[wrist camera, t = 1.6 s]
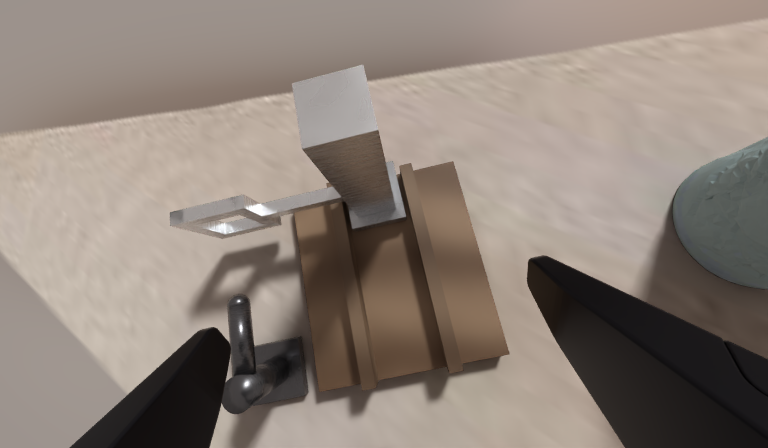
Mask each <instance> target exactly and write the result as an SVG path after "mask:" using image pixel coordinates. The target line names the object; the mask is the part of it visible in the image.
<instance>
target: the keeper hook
mask: <svg viewBox="0 0 768 448" xmlns="http://www.w3.org/2000/svg"><path fill="white" fill-rule="evenodd" d="M227 310H228V323H229V337H230V346H231V363H232V378H230V379H229V380H228V381H227V382H226V383H225V387H224V393H223V398H222V404H223V406H224V408H225V409H226V410H227V411H228V412H230V413H232V414H240V413H242V412H244V411H246V410H247V409H248V408H250V407H251V406H252V405H253V406H255V405H260V404H265V403H270V402H275V401H280V400H285V399H290V398H295V397H300V396H305V395H306V394H307V393H308V385H307V378H306V370H305V362H304V355H303V347H302V340H301V336H300V337H295V338H290V339H285V340H281V341H276V342H271V343H267V344H262V345H257V346H254V339H253V328H252V318H251V307H250V300H249V298H248V297H247V296H246V295H243V294H237V295H234V296H233V297H231V298H230V300H229V301H228V304H227Z"/></svg>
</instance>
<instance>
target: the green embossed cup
mask: <svg viewBox="0 0 768 448" xmlns="http://www.w3.org/2000/svg"><path fill="white" fill-rule="evenodd" d="M673 221H674V225H675V229H676V232H677V235H678V237H679V239H680V240H681V242H682V244H683V246H684V247H685V248H686V250H687V251H688V252H689V254H690V255H691V256H692V257H693V258H694V259H695V260H696V261H697V262H698V263H699V264H700V265H702V266H703V267H704V268H705V269H707V270H708V271H710V272H711V273H713V274H715V275H717V276H718V277H720V278H722V279H725V280H727V281H730V282H732V283H735V284H739V285H743V286H748V287H753V288H759V289H768V137H766V138H764V139H762V140H760V141H758V142H756V143H754V144H752V145H750V146H748V147H746V148H744V149H742V150H739V151H737V152H735V153H733V154H731V155H728V156H725V157H722V158H719V159H716V160H714V161H712V162H710V163H708V164H706V165H704V166H702V167H701V168H699V169H698V170H696V171H695V172H693V173H692V174H691V175H690V176H689V177H688V178H687V179H685V180H684V182H683V183H682V184H681V185H680V187H679V189H678V190H677V193H676V195H675V198H674V203H673Z"/></svg>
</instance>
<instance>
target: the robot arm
mask: <svg viewBox="0 0 768 448" xmlns="http://www.w3.org/2000/svg"><path fill="white" fill-rule="evenodd" d="M527 283H528V287H529V289H530V291H531V293H532V295H533V297H534V299H535V301H536V303H537V305H538V307H539V309H540V311H541V313H542V315H543V317H544V319H545V321H546V323H547V325H548V327H549V329H550V331H551V333H552V334H553V336H554V338H555V340H556V342H557V343H558V345H559V346H560V348H561V350H562V351H563V353H564V354H565V356H566V357H567V359H568V360H569V362H570V363H571V365H572V367H573V368H574V370H575V371H576V373H577V374H578V376H579V377H580V379H581V380H582V382H583V384H584V385H585V387H586V388H587V390H588V391H589V393H590V394H591V396H592V397H593V399H594V400H595V402H596V404H597V405H598V407H599V408H600V410H601V411H602V413H603V414H604V416H605V417H606V419H607V421H608V422H609V424H610V425H611V427H612V428H613V430H614V431H615V433H616V434H617V436H618V437H619V439H620V441H621V442H622V444H623V445H624V447H625V448H768V359H766V358H764V357H762V356H759V355H757V354H755V353H753V352H751V351H749V350H746V349H744V348H742V347H740V346H738V345H736V344H734V343H732V342H729V341H723V339H722V338H721V337H719V336H716V335H714V334H712V333H710V332H708V331H706V330H704V329H702V328H699V327H697V326H695V325H693V324H691V323H689V322H687V321H684V320H682V319H680V318H678V317H676V316H674V315H672V314H670V313H667V312H665V311H663V310H661V309H659V308H657V307H655V306H653V305H650V304H648V303H646V302H644V301H642V300H640V299H638V298H636V297H633V296H631V295H629V294H627V293H625V292H623V291H621V290H619V289H616V288H614V287H612V286H610V285H608V284H606V283H604V282H602V281H599V280H597V279H595V278H593V277H591V276H589V275H587V274H584V273H582V272H580V271H578V270H576V269H574V268H572V267H570V266H567V265H565V264H563V263H561V262H559V261H557V260H555V259H553V258H550V257H548V256H544V255H543V256H538V257H534V258H531V259H529V261H528V273H527ZM230 355H231V346H230V343H229V342H228V341H227V339H226V338H225V337H224V336H223V335H222V334H221V332H220V331H219V330H218V329H217V328H215V327H211V328H206V329H202V330H199V331H198V332H197V333H195V334H194V335H193V336H192V337H191V338H190V339H189V340H188V341H187V342H186V343H184V344H183V345H182V346H181V347H180V348H179V349H178V350H177V351H176V352H174V353H173V354H172V355H171V356H170V357H169V358H168V359H167V360H166V361H165V362H163V363H162V364H161V365H160V366H159V367H158V368H157V369H156V370H155V371H154V372H152V373H151V374H150V375H149V376H148V377H147V378H146V379H145V380H144V381H143V382H141V383H140V384H139V385H138V386H137V387H136V388H135V389H134V390H133V391H131V392H130V393H129V394H128V395H127V396H126V397H125V398H124V399H123V400H122V401H121V402H119V403H118V404H117V405H116V406H115V407H114V408H113V409H112V410H111V411H109V412H108V413H107V414H106V415H105V416H104V417H103V418H102V419H101V420H100V421H98V422H97V423H96V424H95V425H94V426H93V427H92V428H91V429H90V430H88V432H86V433H85V434H84V435H83V436H82V437H81V438H80V439H79V440H77V441H76V442H75V443H74V444H73V445H72V446H71V447H70V448H209V447H210V444H211V440H212V437H213V433H214V429H215V426H216V422H217V419H218V415H219V411H220V407H221V403H222V398H223V393H224V387H225V382H226V376H227V371H228V366H229V360H230Z"/></svg>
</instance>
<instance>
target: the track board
mask: <svg viewBox="0 0 768 448" xmlns="http://www.w3.org/2000/svg"><path fill="white" fill-rule="evenodd" d="M396 176H397V180H398V185H399V189H400V193H401V197H402V202H403V206H404V210H405V214H406V220H404V221H400V222H396V223H391V224H387V225H383V226H378V227H374V228H370V229H365V230H361V231H357V232H355V231H354V230H353V229H352V225H351V219H350V214H349V209H348V205H347V203H346V202H345V201H343V202H339V203H334V204H330V205H326V206H322V207H317V208H313V209H309V210H305V211H300V212H296V213H294V215H295V222H296V229H297V236H298V243H299V251H300V258H301V265H302V272H303V279H304V286H305V294H306V301H307V308H308V315H309V322H310V329H311V336H312V344H313V351H314V358H315V365H316V372H317V379H318V386H319V392H322V391H327V390H332V389H337V388H342V387H347V386H352V385H357V384H361V386H362V391H363V390H369V389H374V388H376V386H377V383H378V381H379V380H382V379H387V378H392V377H397V376H402V375H407V374H412V373H417V372H422V371H427V370H432V369H437V368H442V367H447V368H448V371H449V373H455V372H460V371H464V370H463V366H462V363H467V362H472V361H478V360H483V359H488V358H493V357H498V356H503V355H508V354H509V351H508V347H507V344H506V340H505V337H504V334H503V330H502V327H501V323H500V320H499V317H498V313H497V310H496V306H495V303H494V299H493V296H492V293H491V289H490V286H489V282H488V279H487V275H486V272H485V269H484V265H483V262H482V258H481V255H480V252H479V248H478V245H477V241H476V238H475V234H474V231H473V228H472V224H471V221H470V217H469V214H468V210H467V207H466V204H465V200H464V197H463V193H462V190H461V186H460V183H459V180H458V176H457V173H456V169H455V166H454V163H453V161H452V162H448V163H444V164H440V165H435V166H431V167H427V168H423V169H419V170H415V171H413V169H412V165H411V163H409V164H405V165H401V166H400V174H398V175H396ZM326 184H327V188H329V187H333V186H332V185H331V184H330V183H326Z"/></svg>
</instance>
